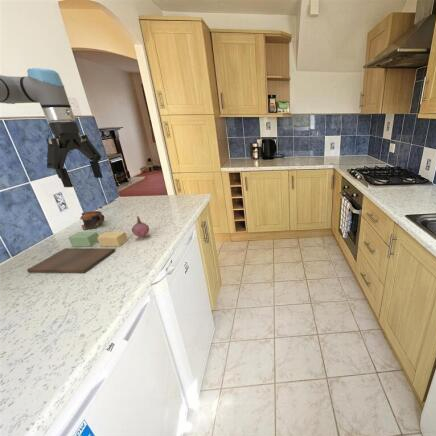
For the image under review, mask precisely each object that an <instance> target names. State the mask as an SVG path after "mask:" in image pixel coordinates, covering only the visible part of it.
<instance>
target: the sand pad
mask: <svg viewBox="0 0 436 436" xmlns="http://www.w3.org/2000/svg"><path fill="white" fill-rule="evenodd" d="M98 236H99V237H97V239H98V242H97V243H98V244H99V246H100V247H121V246H122V245H123V244H125V243H126V242H128V241H129V239H128V237H127V233H126V231H105V232H104V233H102V234H101V235H98Z"/></svg>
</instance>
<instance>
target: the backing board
mask: <svg viewBox="0 0 436 436" xmlns="http://www.w3.org/2000/svg"><path fill="white" fill-rule="evenodd" d="M114 253H116V249H115V248H114V247H113V248H105V247H104V248H101V247H99V248H96V247H95V248H93V247H92V248H87V247H78V248H77V247H76V248H75V247H73V248H72V247H65V248H63V249H61V250H59V251H57V252H56V253H54V254H52V255H51V256H49V257H47V258H44V260H42V261H39V262H38V263H36V264H34V265H33V266H31V267H29V268H27V269H26V271H27V272H28V273H29V274H30V273H31V274H33V273H34V274H35V273H36V274H41V273H42V274H87V272H89V271H90V270H92V269H93V268H95V267H96V266H97V265H98V264H100V263H101V262H103V261H104V260H106V259H107V258H108V257H110V256H111V255H112V254H114Z"/></svg>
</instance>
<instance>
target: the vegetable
mask: <svg viewBox="0 0 436 436" xmlns="http://www.w3.org/2000/svg"><path fill="white" fill-rule="evenodd" d="M136 220H137V221H136V223H135V224H134V225H133V226H132V227H131V232H132V234H133V235H134V236H135V237H138V238H145V237H146V235H148V234H149V232H150V226H149V225H148V224H147V223H145V222H142V221H141V218H140V216H139V215H136Z"/></svg>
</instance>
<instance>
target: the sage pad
mask: <svg viewBox="0 0 436 436" xmlns="http://www.w3.org/2000/svg"><path fill="white" fill-rule="evenodd" d="M99 236H100V235H99V233H98V232H97V231H78V232H75V233H74V234H71V235H69V236H68V241H69V243H70V245H71V246H72V247H92V246H94V245H95V244H97V243H99V242H98V239H97V237H99Z"/></svg>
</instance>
